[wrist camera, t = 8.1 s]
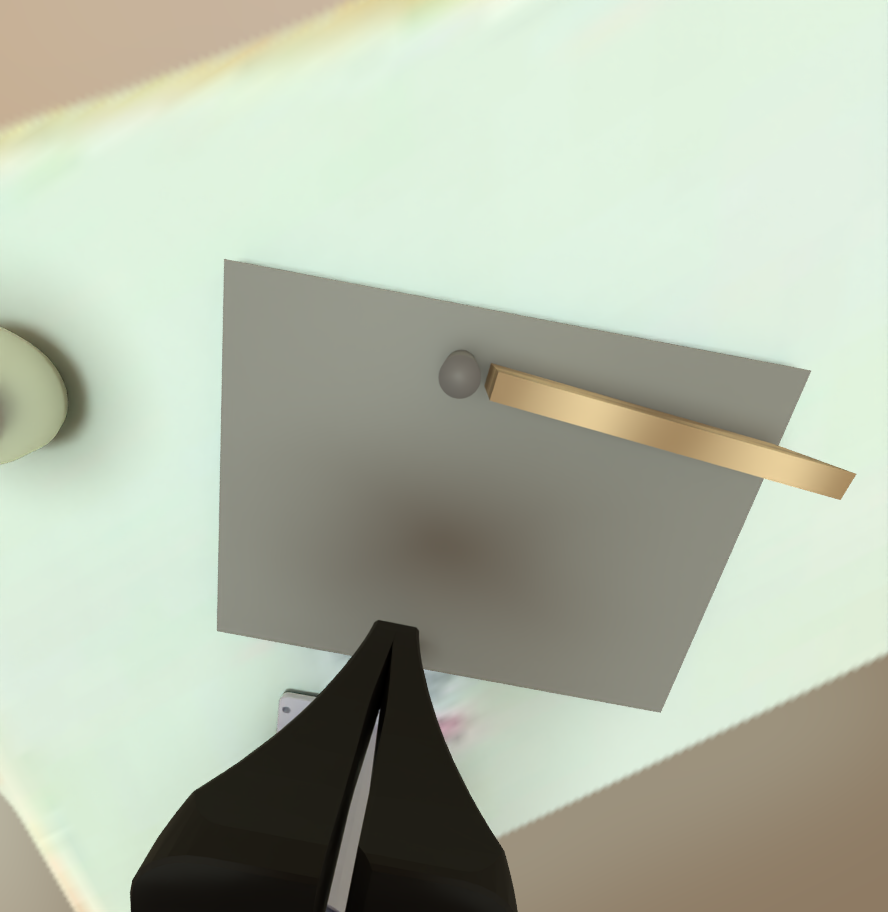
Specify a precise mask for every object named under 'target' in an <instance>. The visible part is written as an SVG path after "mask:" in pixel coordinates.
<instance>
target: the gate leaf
mask: <svg viewBox="0 0 888 912" xmlns="http://www.w3.org/2000/svg"><path fill="white" fill-rule="evenodd" d="M484 386H485V389H486V392H487V395H488V397H489V400H490V401H493V402H496V403H500V404H504V405H507V406H511V407H514V408H518V409H521V410H525V411H528V412H532V413H535V414H539V415H542V416H546V417H549V418H553V419H556V420H560V421H564V422H567V423H571V424H574V425H578V426H581V427H585V428H588V429H592V430H595V431H599V432H602V433H606V434H609V435H613V436H616V437H620V438H624V439H627V440H631V441H634V442H638V443H641V444H645V445H648V446H652V447H655V448H659V449H662V450H666V451H669V452H673V453H676V454H680V455H684V456H687V457H691V458H694V459H698V460H701V461H705V462H708V463H712V464H715V465H719V466H722V467H726V468H729V469H733V470H737V471H740V472H744V473H747V474H751V475H754V476H758V477H761V478H765V479H768V480H772V481H775V482H779V483H782V484H786V485H789V486H793V487H797V488H800V489H804V490H807V491H811V492H814V493H818V494H821V495H825V496H828V497H832V498H835V499H839V500H841V498H842V497H843V495H844V493H845V492H846V490H847V488H848V487H849V485H850V484H851V482H852V480H853V479H854V477H855V475H856V474H855V473H852V472H849V471H847V470H844V469H841V468H838V467H836V466H833V465H830V464H827V463H824V462H822V461H819V460H816V459H813V458H811V457H808V456H805V455H802V454H800V453H797V452H794V451H791V450H789V449H786V448H783V447H780V446H778V445H775V444H772V443H768V442H765V441H761V440H758V439H755V438H751V437H748V436H744V435H741V434H737V433H734V432H730V431H727V430H723V429H720V428H716V427H713V426H709V425H706V424H702V423H699V422H695V421H692V420H688V419H685V418H681V417H678V416H674V415H671V414H667V413H664V412H660V411H657V410H653V409H650V408H646V407H643V406H639V405H636V404H632V403H629V402H625V401H622V400H618V399H615V398H611V397H608V396H604V395H601V394H597V393H594V392H590V391H587V390H583V389H580V388H576V387H573V386H570V385H566V384H563V383H559V382H556V381H552V380H549V379H545V378H542V377H538V376H535V375H531V374H528V373H524V372H521V371H517V370H514V369H510V368H507V367H503V366H500V365H496V364H493V363H491V365H490V368H489V372H488V375H487V378H486V382H485V385H484Z"/></svg>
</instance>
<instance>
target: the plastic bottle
mask: <svg viewBox="0 0 888 912" xmlns="http://www.w3.org/2000/svg"><path fill="white" fill-rule="evenodd" d="M67 411H68V397H67V391H66V388H65V385H64V382H63V379H62V378H61V376H60V374H59V372H58V370H57V369H56V367H55V366H54V365H53V363H52V362H51V361H50V360H49V358H48V357H47V356H45V355H44V354H43V353H42V352H41V351H40V350H39V349H38V348H36V347H35V346H34V345H32V344H31V343H29V342H28V341H26V340H24V339H23V338H21V337H19V336H18V335H16V334H14V333H12V332H10V331H8V330H6V329H4V328H2V327H0V465H1V464H5V463H8V462H12V461H15V460H17V459H19V458H21V457H23V456H25V455H27V454H29V453H31V452H34V451H36V450H38V449H40V448H41V447H43V446H45V445H47V444H48V443H49V442H50V441H51V440H52V439H53V438H54V437H55V436H56V435H57V433H58V431H59V429H60V428H61V426H62V424H63V422H64V421H65V419H66V415H67Z"/></svg>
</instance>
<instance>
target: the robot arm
mask: <svg viewBox="0 0 888 912" xmlns="http://www.w3.org/2000/svg"><path fill="white" fill-rule="evenodd" d="M130 901H131V912H518V911H517V905H516V899H515V894H514V889H513V884H512V879H511V875H510V871H509V867H508V863H507V859H506V856H505V852H504V850H503V848H502V847H501V845H500V844H499V842H498V841H497V839H496V837H495V836H494V834H493V833H492V831H491V830H490V828H489V826H488V825H487V823H486V821H485V820H484V818H483V816H482V815H481V813H480V811H479V809H478V808H477V806H476V804H475V802H474V800H473V799H472V797H471V795H470V793H469V791H468V789H467V787H466V785H465V783H464V781H463V779H462V777H461V775H460V773H459V771H458V769H457V767H456V765H455V763H454V761H453V759H452V756H451V754H450V752H449V749H448V747H447V744H446V742H445V740H444V737H443V734H442V732H441V729H440V726H439V724H438V721H437V718H436V715H435V712H434V708H433V705H432V702H431V698H430V695H429V691H428V687H427V683H426V679H425V674H424V670H423V665H422V659H421V653H420V644H419V630H418V629H417V627H413V626H408V625H403V624H397V623H392V622H387V621H382V620H377V621H375V622H374V624H373V626H372V628H371V629H370V631H369V633H368V634H367V636H366V638H365V639H364V641H363V642H362V643H361V645H360V646H359V648H358V649H357V651H356V652H355V653H354V654H353V656H352V657H351V658H350V660H349V661H348V662H347V663H346V665H345V666H344V667H343V668H342V670H341V671H340V672H339V673H338V674H337V675H336V676H335V678H334V679H333V680H332V681H331V682H330V683H329V684H328V685H327V687H326V688H325V689H324V690H323V691H322V692H321V693H320V694H319V695H318V696H317V697H313V696H307V695H302V694H296V693H291V692H286V693H284V694H283V695H282V696H281V698H280V700H279V709H278V722H277V733H276V734H275V735H274V736H273V737H272V738H270V739H269V740H268V741H266V742H265V743H264V744H262V745H261V746H260V747H258V748H257V749H256V750H254V751H253V752H252V753H250V754H249V755H248V756H246V757H245V758H244V759H242V760H241V761H240V762H238V763H237V764H235V765H234V766H232V767H231V768H229V769H228V770H226V771H225V772H223V773H222V774H220V775H218V776H217V777H215V778H214V779H212V780H211V781H209V782H208V783H206V784H204V785H203V786H201V787H200V788H198V789H197V790H195V791H194V792H193V793H192V794H191V795H190V796H189V797H188V799H187V800H186V801H185V802H184V803H183V805H182V806H181V807H180V808H179V810H178V811H177V812H176V814H175V815H174V816H173V818H172V819H171V820H170V822H169V823H168V824H167V826H166V827H165V828H164V830H163V831H162V833H161V834H160V835H159V837H158V838H157V840H156V842H155V843H154V845H153V847H152V848H151V850H150V852H149V853H148V855H147V857H146V858H145V860H144V862H143V863H142V865H141V867H140V868H139V870H138V872H137V873H136V875H135V877H134V878H133V880H132V885H131V890H130Z"/></svg>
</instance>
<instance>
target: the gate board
mask: <svg viewBox="0 0 888 912" xmlns="http://www.w3.org/2000/svg"><path fill="white" fill-rule="evenodd" d="M491 363H493V364H496V365H500V366H503V367H507V368H510V369H514V370H517V371H521V372H524V373H528V374H531V375H535V376H538V377H542V378H545V379H549V380H552V381H556V382H559V383H563V384H566V385H570V386H573V387H576V388H580V389H583V390H587V391H590V392H594V393H597V394H601V395H604V396H608V397H611V398H615V399H618V400H622V401H625V402H629V403H632V404H636V405H639V406H643V407H646V408H650V409H653V410H657V411H660V412H664V413H667V414H671V415H674V416H678V417H681V418H685V419H688V420H692V421H695V422H699V423H702V424H706V425H709V426H713V427H716V428H720V429H723V430H727V431H730V432H734V433H737V434H741V435H744V436H748V437H751V438H755V439H758V440H761V441H765V442H768V443H772V444H775V445H779V443H780V441H781V438H782V436H783V434H784V431H785V429H786V427H787V425H788V422H789V420H790V418H791V416H792V413H793V411H794V409H795V406H796V404H797V402H798V400H799V397H800V395H801V393H802V391H803V388H804V386H805V384H806V382H807V379H808V377H809V375H810V372H811V371H810V370H805V369H799V368H794V367H789V366H784V365H778V364H773V363H768V362H763V361H757V360H752V359H747V358H742V357H736V356H731V355H726V354H721V353H715V352H710V351H705V350H700V349H694V348H689V347H684V346H679V345H673V344H668V343H663V342H658V341H652V340H647V339H642V338H637V337H631V336H626V335H621V334H616V333H610V332H605V331H600V330H595V329H589V328H584V327H579V326H573V325H568V324H563V323H558V322H552V321H547V320H542V319H537V318H531V317H526V316H521V315H516V314H510V313H505V312H500V311H495V310H489V309H484V308H479V307H474V306H468V305H463V304H458V303H453V302H447V301H442V300H437V299H432V298H426V297H421V296H416V295H411V294H405V293H400V292H395V291H390V290H384V289H379V288H374V287H369V286H363V285H358V284H353V283H348V282H342V281H337V280H332V279H327V278H321V277H316V276H311V275H305V274H300V273H295V272H290V271H284V270H279V269H274V268H269V267H263V266H258V265H253V264H248V263H242V262H237V261H232V260H227V259H224V299H223V349H222V400H221V451H220V502H219V553H218V604H217V631H220V632H225V633H231V634H236V635H242V636H247V637H252V638H258V639H263V640H269V641H274V642H280V643H285V644H290V645H296V646H301V647H307V648H312V649H318V650H323V651H329V652H334V653H339V654H345V655H350V656H353V654H354V653H355V652H356V651H357V649H358V648H359V646H360V645H361V643H362V642H363V641H364V639H365V638H366V636H367V634H368V633H369V631H370V629H371V628H372V626H373V624H374V622H375V621H377V620H382V621H387V622H392V623H397V624H403V625H408V626H413V627H417V629H418V630H419V644H420V653H421V659H422V665H423V669H426V670H432V671H437V672H443V673H448V674H454V675H459V676H464V677H470V678H475V679H481V680H486V681H492V682H497V683H503V684H508V685H513V686H519V687H524V688H530V689H535V690H541V691H546V692H552V693H557V694H562V695H568V696H573V697H579V698H584V699H590V700H595V701H600V702H606V703H611V704H617V705H622V706H628V707H633V708H639V709H644V710H649V711H655V712H660V713H661V711H662V708H663V706H664V704H665V701H666V699H667V697H668V695H669V692H670V690H671V688H672V686H673V683H674V681H675V679H676V677H677V674H678V672H679V670H680V667H681V665H682V663H683V661H684V658H685V656H686V654H687V652H688V649H689V647H690V645H691V642H692V640H693V638H694V636H695V633H696V631H697V629H698V627H699V624H700V622H701V620H702V618H703V615H704V613H705V611H706V608H707V606H708V604H709V602H710V599H711V597H712V595H713V593H714V590H715V588H716V586H717V583H718V581H719V579H720V577H721V574H722V572H723V570H724V568H725V565H726V563H727V561H728V559H729V556H730V554H731V552H732V549H733V547H734V545H735V543H736V540H737V538H738V536H739V534H740V531H741V529H742V527H743V524H744V522H745V520H746V518H747V515H748V513H749V511H750V509H751V506H752V504H753V502H754V500H755V497H756V495H757V493H758V490H759V488H760V486H761V484H762V481H763V479H764V478H761V477H758V476H754V475H751V474H747V473H744V472H740V471H737V470H733V469H729V468H726V467H722V466H719V465H715V464H712V463H708V462H705V461H701V460H698V459H694V458H691V457H687V456H684V455H680V454H676V453H673V452H669V451H666V450H662V449H659V448H655V447H652V446H648V445H645V444H641V443H638V442H634V441H631V440H627V439H624V438H620V437H616V436H613V435H609V434H606V433H602V432H599V431H595V430H592V429H588V428H585V427H581V426H578V425H574V424H571V423H567V422H564V421H560V420H556V419H553V418H549V417H546V416H542V415H539V414H535V413H532V412H528V411H525V410H521V409H518V408H514V407H511V406H507V405H504V404H500V403H496V402H493V401H490V400H489V397H488V395H487V392H486V389H485V386H484V385H485V382H486V378H487V375H488V372H489V368H490V365H491Z"/></svg>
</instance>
